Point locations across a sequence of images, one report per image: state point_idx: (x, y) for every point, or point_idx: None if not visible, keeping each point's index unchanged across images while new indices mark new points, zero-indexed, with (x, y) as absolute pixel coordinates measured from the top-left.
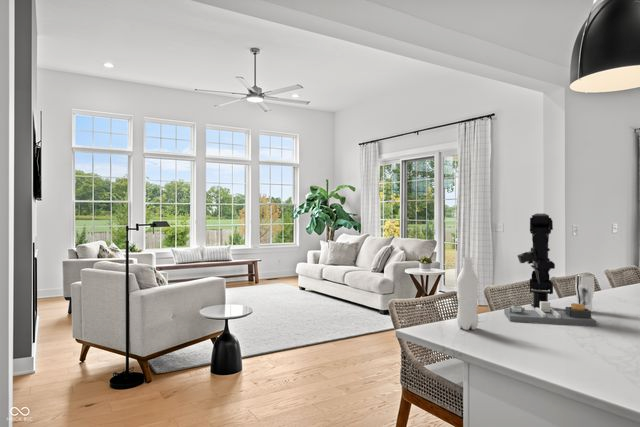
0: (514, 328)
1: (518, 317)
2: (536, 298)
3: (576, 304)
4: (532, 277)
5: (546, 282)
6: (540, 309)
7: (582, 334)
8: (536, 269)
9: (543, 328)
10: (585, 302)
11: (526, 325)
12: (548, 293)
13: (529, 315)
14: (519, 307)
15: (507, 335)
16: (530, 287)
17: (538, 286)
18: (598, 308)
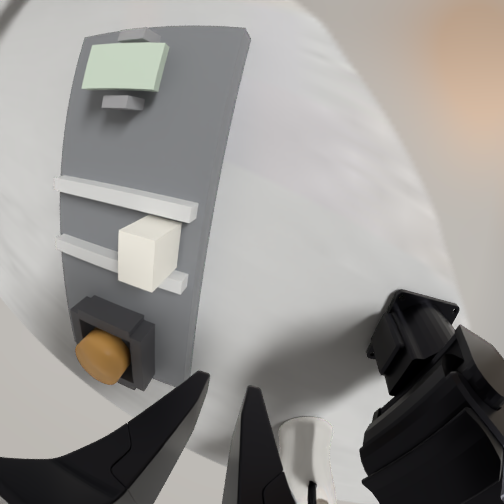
0: (33, 56)
1: (79, 71)
2: (419, 333)
3: (96, 362)
4: (473, 423)
5: (375, 456)
6: (159, 220)
7: (8, 232)
8: (9, 459)
9: (29, 145)
10: (280, 453)
11: (52, 96)
12: (385, 405)
13: (87, 123)
14: (88, 75)
15: (3, 43)
16: (464, 348)
17: (411, 395)
18: (334, 462)
